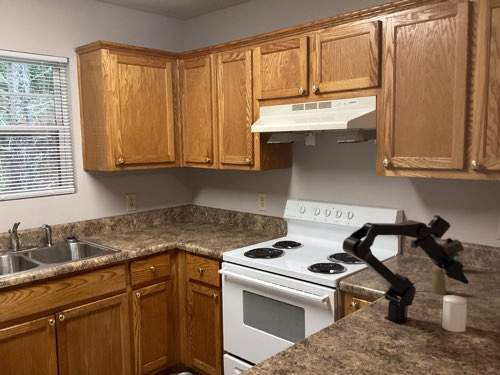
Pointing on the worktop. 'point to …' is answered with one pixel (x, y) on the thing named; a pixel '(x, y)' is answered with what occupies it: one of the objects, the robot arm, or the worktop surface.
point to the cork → (438, 281)
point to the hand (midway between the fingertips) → (463, 279)
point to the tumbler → (454, 313)
